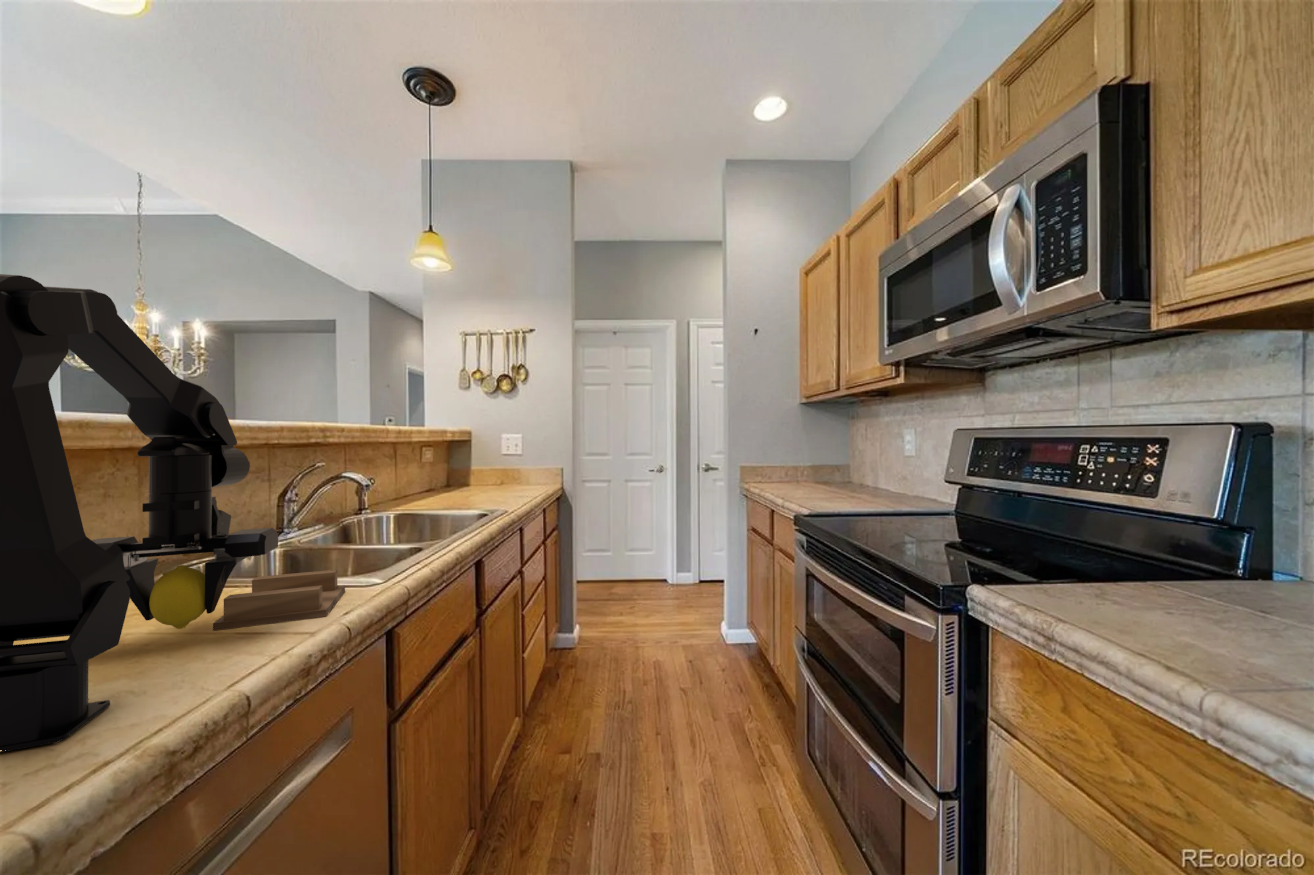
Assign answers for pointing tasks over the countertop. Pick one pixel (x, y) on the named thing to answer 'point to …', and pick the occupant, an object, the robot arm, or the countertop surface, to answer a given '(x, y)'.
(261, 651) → the countertop surface
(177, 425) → the robot arm
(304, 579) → the cradle
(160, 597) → the lemon
